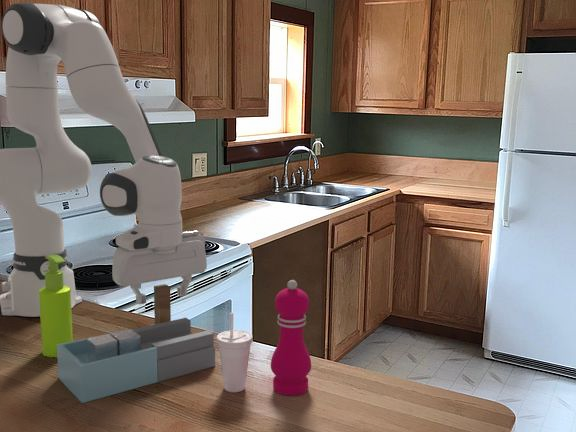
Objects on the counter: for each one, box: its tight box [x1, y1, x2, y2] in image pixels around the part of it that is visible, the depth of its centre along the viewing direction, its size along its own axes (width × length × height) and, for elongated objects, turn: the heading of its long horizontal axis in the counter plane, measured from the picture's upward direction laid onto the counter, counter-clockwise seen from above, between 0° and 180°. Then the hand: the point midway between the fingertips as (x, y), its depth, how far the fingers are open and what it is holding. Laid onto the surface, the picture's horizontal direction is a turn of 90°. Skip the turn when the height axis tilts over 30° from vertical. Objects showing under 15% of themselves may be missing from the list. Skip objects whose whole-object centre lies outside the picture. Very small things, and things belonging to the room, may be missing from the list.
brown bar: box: [147, 283, 172, 326], centre depth 134 cm, size 6×4×12 cm
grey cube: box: [110, 328, 141, 356], centre depth 116 cm, size 4×4×4 cm
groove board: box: [131, 317, 216, 383], centre depth 122 cm, size 12×12×6 cm
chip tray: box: [56, 328, 159, 404], centre depth 115 cm, size 12×14×6 cm
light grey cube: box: [86, 333, 118, 362], centre depth 114 cm, size 4×4×4 cm
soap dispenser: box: [39, 255, 74, 358], centre depth 126 cm, size 6×7×20 cm
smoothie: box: [216, 312, 254, 393], centre depth 112 cm, size 6×6×14 cm
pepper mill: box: [270, 279, 312, 397], centre depth 111 cm, size 7×7×20 cm
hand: (162, 299), depth 133 cm, fingers open, 8 cm apart
